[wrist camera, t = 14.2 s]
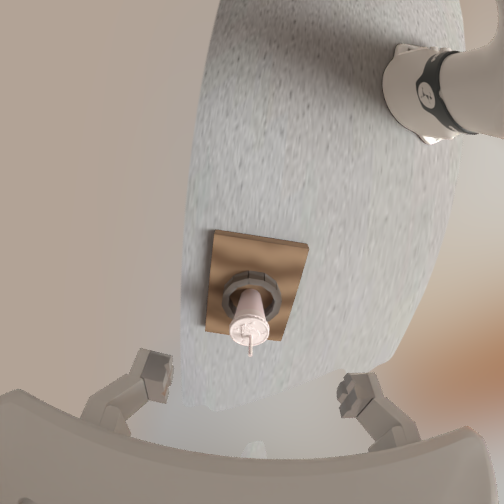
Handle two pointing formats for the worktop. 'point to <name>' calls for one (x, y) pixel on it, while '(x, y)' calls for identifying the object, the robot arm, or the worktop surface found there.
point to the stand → (253, 278)
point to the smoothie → (249, 321)
